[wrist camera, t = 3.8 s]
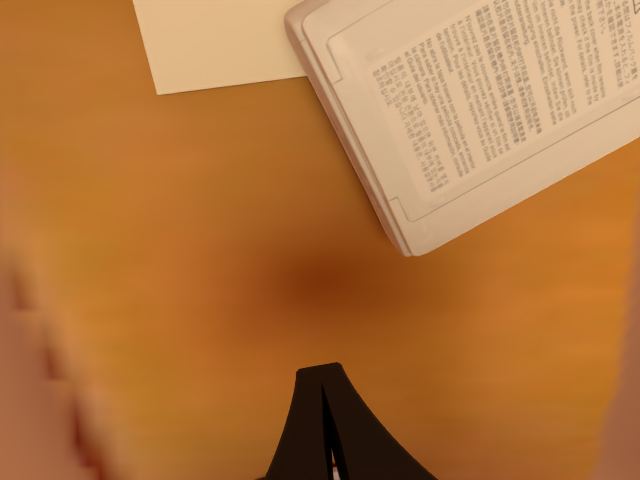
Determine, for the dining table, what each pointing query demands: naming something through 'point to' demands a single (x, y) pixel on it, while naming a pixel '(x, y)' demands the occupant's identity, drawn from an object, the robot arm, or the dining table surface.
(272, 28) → the mat
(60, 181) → the dining table surface
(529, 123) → the photo printer
